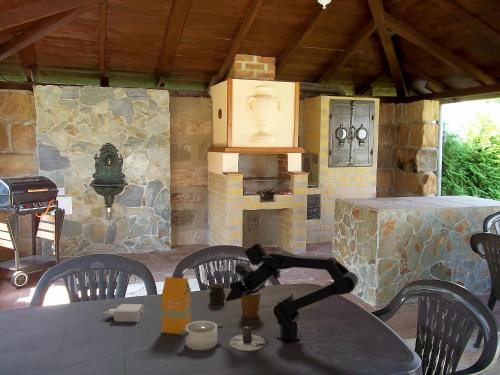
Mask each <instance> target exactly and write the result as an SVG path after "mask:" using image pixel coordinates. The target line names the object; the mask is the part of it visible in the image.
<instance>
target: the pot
mask: <svg viewBox="0 0 500 375" xmlns="http://www.w3.org/2000/svg"><path fill="white" fill-rule="evenodd" d="M223 328H224V325H223V324H222V323H221V322H218V323H215V322H213V321H209V320H196V321H192V322H191V323H189V324H188V325H187V326H186V330H184V331H179V334H178V335H180V337H183V338H184V337H185V346H186V347H187V349H191V350H196V351H205V350H210V349H213V348H214V347H216V346H217V345H218V329H223Z"/></svg>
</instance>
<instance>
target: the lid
mask: <svg viewBox="0 0 500 375" xmlns="http://www.w3.org/2000/svg"><path fill="white" fill-rule="evenodd" d="M229 345H230V347H231V348H233V349H234V350H238V351H242V352H253V351H258V350H261V349H263V347H265V345H266V340H265V339H264V338H263V337H262V336H261V335H260V336H259V335H255V334H253V327H252V326H250V325H244V326H242V334H239V335H238V334H237V335H235V336H233V337H231V338H230V340H229Z"/></svg>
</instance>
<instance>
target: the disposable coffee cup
mask: <svg viewBox="0 0 500 375" xmlns="http://www.w3.org/2000/svg"><path fill="white" fill-rule="evenodd" d="M242 284H243V285H245V284H244V283H242ZM262 291H263V290H261V291H259V292H256V293H253V294H249V295H245V296H244V297H242V298H240V302H241V312H242V316H243V317H245V318H257V317H258V315H259V309H260V301H261V295H262Z"/></svg>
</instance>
